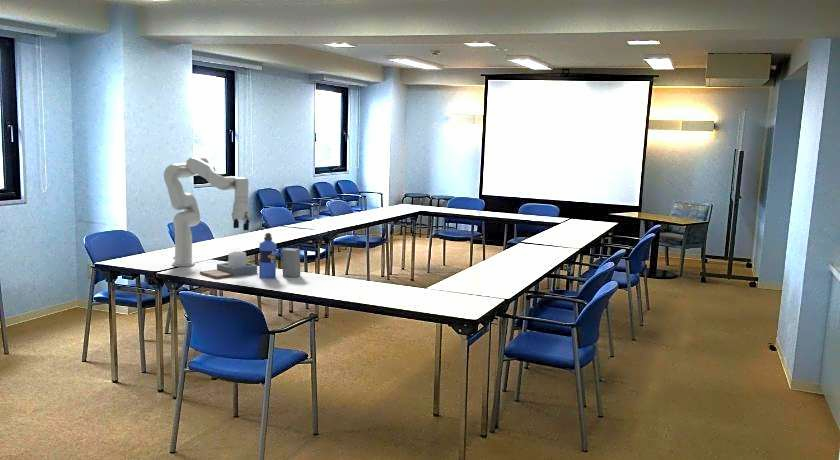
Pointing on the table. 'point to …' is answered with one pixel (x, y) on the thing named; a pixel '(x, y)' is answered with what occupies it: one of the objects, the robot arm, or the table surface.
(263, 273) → the water bottle
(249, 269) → the bin
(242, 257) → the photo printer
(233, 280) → the table surface
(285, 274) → the skincare box
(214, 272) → the board
